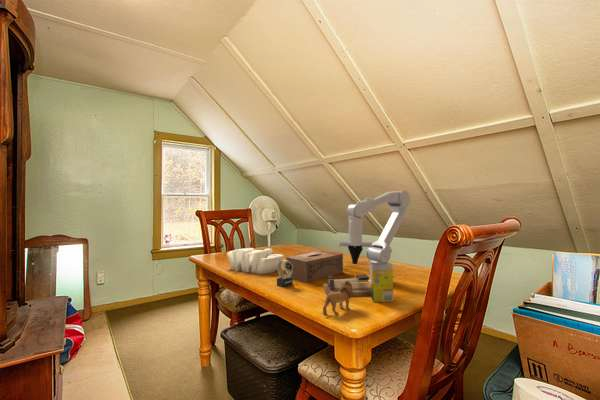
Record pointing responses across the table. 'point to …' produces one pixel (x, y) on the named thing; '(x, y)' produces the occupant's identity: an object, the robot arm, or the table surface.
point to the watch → (283, 280)
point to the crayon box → (382, 286)
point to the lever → (359, 279)
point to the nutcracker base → (357, 288)
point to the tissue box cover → (316, 265)
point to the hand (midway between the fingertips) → (354, 263)
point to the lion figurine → (339, 297)
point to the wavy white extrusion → (254, 260)
